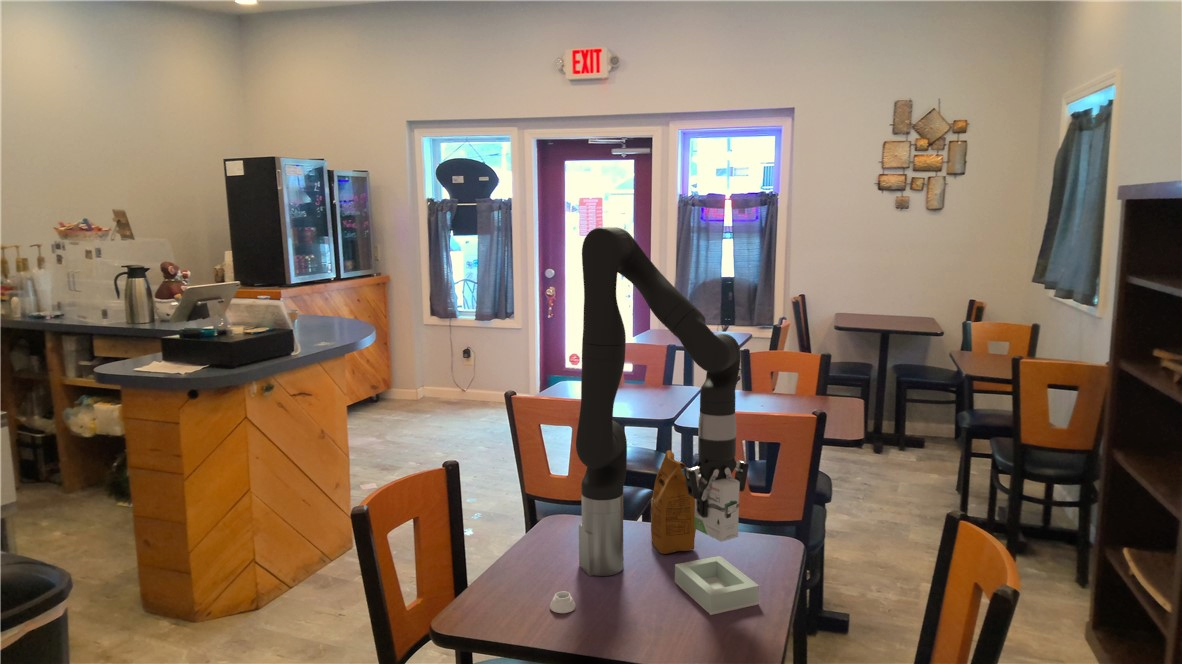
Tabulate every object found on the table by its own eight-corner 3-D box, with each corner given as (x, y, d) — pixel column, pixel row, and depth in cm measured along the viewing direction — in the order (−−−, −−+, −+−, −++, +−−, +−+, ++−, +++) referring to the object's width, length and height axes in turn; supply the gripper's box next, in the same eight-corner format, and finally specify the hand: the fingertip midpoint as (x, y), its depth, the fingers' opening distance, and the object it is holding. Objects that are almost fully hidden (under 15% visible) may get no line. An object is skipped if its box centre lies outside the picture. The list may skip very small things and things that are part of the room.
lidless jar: (570, 600, 155) (547, 605, 153) (570, 587, 155) (546, 591, 153) (578, 612, 150) (554, 617, 149) (578, 598, 150) (554, 602, 148)
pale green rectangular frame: (710, 614, 148) (711, 595, 148) (674, 582, 162) (674, 564, 162) (758, 604, 152) (759, 585, 152) (719, 573, 166) (719, 555, 166)
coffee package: (686, 533, 188) (687, 447, 185) (699, 554, 176) (700, 462, 173) (646, 535, 187) (647, 448, 184) (656, 556, 175) (657, 464, 172)
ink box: (693, 528, 158) (693, 473, 156) (711, 523, 160) (711, 469, 159) (721, 542, 151) (722, 485, 149) (740, 536, 153) (740, 480, 152)
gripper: (737, 425, 159) (736, 503, 161) (676, 433, 154) (676, 513, 156) (758, 434, 152) (756, 515, 154) (695, 442, 147) (694, 526, 149)
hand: (716, 513), depth 155 cm, fingers closed on ink box, 5 cm apart
